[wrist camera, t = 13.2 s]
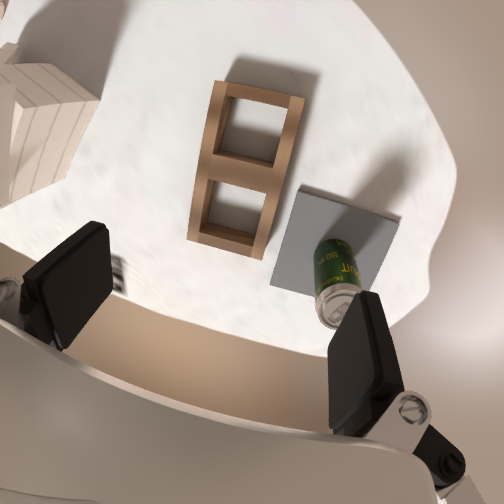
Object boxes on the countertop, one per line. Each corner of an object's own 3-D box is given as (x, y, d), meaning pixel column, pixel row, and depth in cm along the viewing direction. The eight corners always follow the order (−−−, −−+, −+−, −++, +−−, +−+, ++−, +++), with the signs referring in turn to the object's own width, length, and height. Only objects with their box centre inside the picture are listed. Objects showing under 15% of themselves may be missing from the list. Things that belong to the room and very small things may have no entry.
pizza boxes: (25, 33, 27) (-49, 35, 11) (115, 96, 33) (15, 105, 17) (-7, 117, 36) (-73, 137, 20) (68, 196, 41) (-11, 242, 25)
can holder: (222, 83, 31) (214, 80, 27) (304, 100, 30) (305, 99, 27) (195, 228, 40) (186, 239, 37) (265, 248, 40) (261, 260, 37)
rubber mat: (297, 189, 35) (297, 191, 35) (397, 222, 35) (399, 224, 34) (270, 281, 42) (269, 284, 41) (358, 305, 41) (359, 308, 41)
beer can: (332, 279, 39) (340, 339, 29) (304, 256, 38) (304, 313, 28) (360, 253, 37) (379, 309, 26) (332, 228, 36) (344, 278, 25)
